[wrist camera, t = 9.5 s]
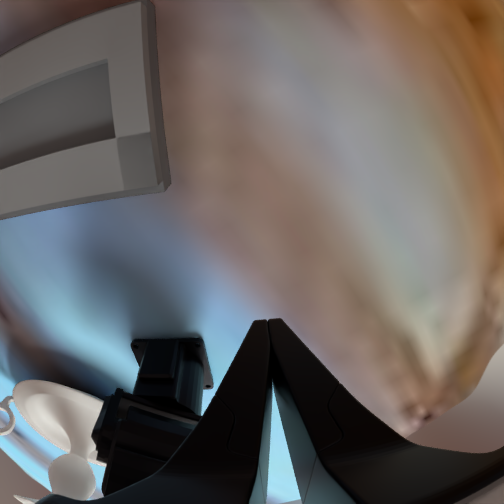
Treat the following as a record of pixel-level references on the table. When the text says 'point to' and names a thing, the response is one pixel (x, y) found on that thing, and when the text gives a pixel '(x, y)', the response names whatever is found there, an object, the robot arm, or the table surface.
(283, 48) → the table surface
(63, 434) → the candlestick
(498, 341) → the table surface
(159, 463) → the robot arm
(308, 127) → the table surface
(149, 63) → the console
